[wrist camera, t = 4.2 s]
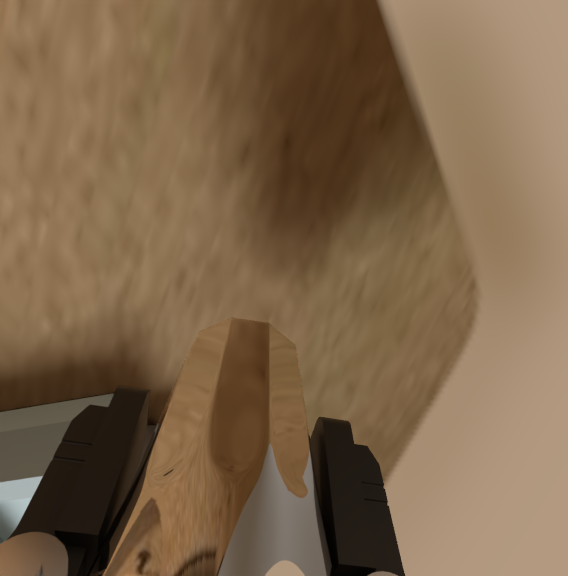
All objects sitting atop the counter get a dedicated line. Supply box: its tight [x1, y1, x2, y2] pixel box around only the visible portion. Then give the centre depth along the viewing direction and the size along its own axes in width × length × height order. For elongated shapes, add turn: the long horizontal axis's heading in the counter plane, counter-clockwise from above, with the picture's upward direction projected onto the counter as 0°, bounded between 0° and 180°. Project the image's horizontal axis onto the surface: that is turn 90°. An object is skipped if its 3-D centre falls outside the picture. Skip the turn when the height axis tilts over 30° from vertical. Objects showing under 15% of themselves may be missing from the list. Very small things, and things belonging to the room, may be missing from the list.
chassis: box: [0, 394, 156, 544], centre depth 21 cm, size 13×11×5 cm
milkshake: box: [87, 317, 336, 576], centre depth 9 cm, size 4×5×10 cm
